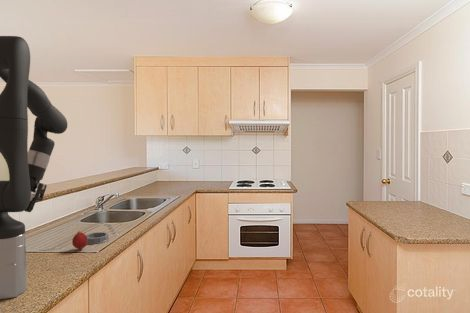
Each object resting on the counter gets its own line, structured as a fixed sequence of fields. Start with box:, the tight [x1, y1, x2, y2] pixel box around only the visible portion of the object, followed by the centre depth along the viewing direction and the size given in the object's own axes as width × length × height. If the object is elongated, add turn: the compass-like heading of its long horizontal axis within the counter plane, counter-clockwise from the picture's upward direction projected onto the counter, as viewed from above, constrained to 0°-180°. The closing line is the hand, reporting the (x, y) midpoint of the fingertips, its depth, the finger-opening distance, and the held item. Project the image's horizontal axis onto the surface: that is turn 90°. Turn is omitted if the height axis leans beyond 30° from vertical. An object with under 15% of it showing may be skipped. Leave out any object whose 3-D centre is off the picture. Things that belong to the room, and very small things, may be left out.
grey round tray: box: [85, 231, 110, 245], centre depth 146 cm, size 10×10×2 cm
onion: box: [71, 230, 88, 251], centre depth 133 cm, size 6×6×8 cm
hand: (17, 209), depth 112 cm, fingers open, 8 cm apart
